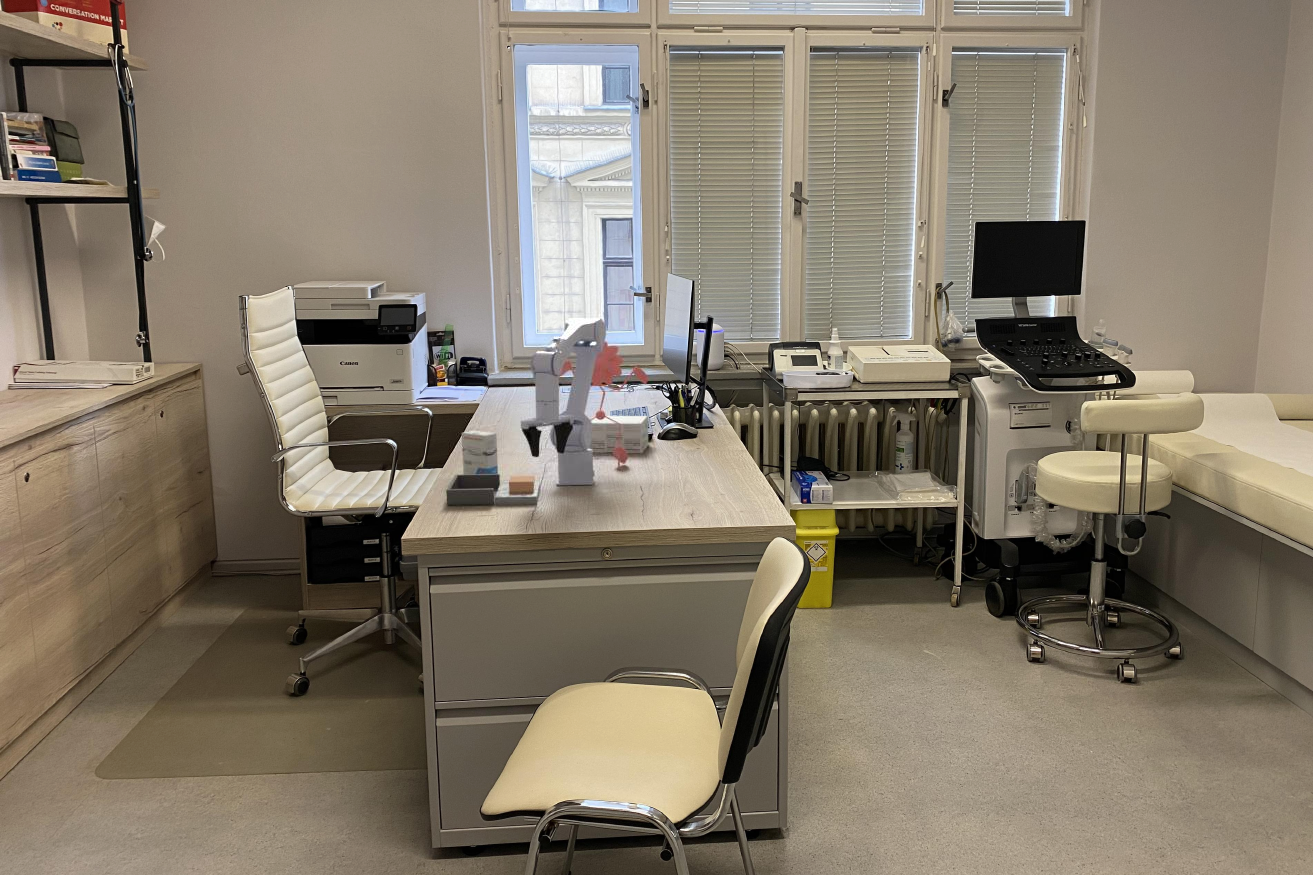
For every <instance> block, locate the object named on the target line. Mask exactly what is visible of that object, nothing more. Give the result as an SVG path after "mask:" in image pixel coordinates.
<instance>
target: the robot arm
mask: <svg viewBox="0 0 1313 875" xmlns="http://www.w3.org/2000/svg"><path fill="white" fill-rule="evenodd" d="M606 329H607V328H606V324H605V322H604V320H603V319H601V318H572V317H570V318H568V319H567V320H566V321H565V324H564V330H563V331H564V332H563V333H562V334H561V336H554V337H553V338H552V340H551V341H550V342H549V343H548V344H547V345H546V346H545V348H544V349H543V350H542V351H536V352H534V353H533V355H532V356H531V361H530V370H531V373H532V380H533V382H534V384H535V386H534V388H535V417H532V418H527V419H523V420H520V428H521V431H522V434H523V435H524V436H525V438H526V441H527V443H528V446H529V449H530V454H531V456H532V457H535V458H540V440H541V435H542V432H543V431H542V430H541V429H539V428H541V427H549V426H551V429H550V433H549V436H550V437H549V439H550V442H551V444H552V446H553V447H554V449H555V450H556V453H557V470H558V471H557V473H558V476H556V477H557V478H556V483H555V484H556V486H587V485H589V486H590V485H591V486H592V485H593V484H594V477H595V469H594V456H593V454H594V452H593V449H586V448H588V447H589V445H590V444H591V441H592V427H593V425H592V422H591V418H589V417H588V416H587V415H586V414H585V413H586V408H587V404H588V400H589V396H590V395H589V394H590V390H591V387H592V386H591V385H592V376H593V371H594V367H595V362H596V357H597V355H599V354H600V353H602V350H603V347H604V342H605V341H606V337H607V331H606ZM572 353H573V354H574V355H576V356H577V358H576V362H575V367H574V375H573V376H572V377H573V378H572V381H571V386H570V389H569V395H568V400H567V404H566V408H565V410H564V411H563V412H561V413H560V392H559V391H560V384H559V383H560V382H559V380H560V379H559V378H560V377H559V374H561V372H562V368H563V365H564V362H565V361H567V359H568V358H569V357H570V356H571V354H572ZM590 386H591V387H590Z"/></svg>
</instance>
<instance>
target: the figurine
mask: <svg viewBox="0 0 1313 875" xmlns="http://www.w3.org/2000/svg"><path fill="white" fill-rule="evenodd" d="M618 351H619V347H618V346H616V345H608V341H606V340H605V342H604V347H603V350H602V353H600V354H599V355H597V357H596V362H595V367H594V371H593V376H592V381H591V386H590V388H591V387H599V388H600V389H601V391H602V392H603V393H602V398H601V402H600V407H599V410H597V411H596V412H595V415H594V416H595V417H594V416H593V417H594V418H593V417H592V418H590V420H591V421H592V420H593V419H595V418H597V419H598V420H602V419H604V418H605V417H606V418H608V419H610V418H609V417H607V416H608V415H606V413H605V412H604V410H602V409H603V404H604V399H605V396H606V391H605V389H604V388H608V389H611V390H614V391H618V392H621V390H622V389H623V388H624V386H625V385H626V384H627V382H628V381H629V380H630V378H631V377H632V376H633V375H634V377H635V378H636V379H637V381H639V382H641V383H642V384H644V385H647V383H648V379H649V377H648V375H647V373H646V372H645V371H644V370H643V369H642V368H640V367H638V366H637V365H636V366H634V367H633V370H632V371H631V372H630V374H629V376H627V378H626V379H625V380H624V382H622V385H621V386H620V387H619V388H616V387H613V386H610V385H611V384H613V381H614V377H620V376H622V373H623V372H622V368H621V367H620V365H622V364H623V362H624V360H623V358H622V357H621V356H619V355H617V353H618ZM570 370H571V373H572V374H573V376H574V371H575V369H574V367H573V365H572V360H571V359H568V360H565V361H564V365H563V368H562V372H561V374H559V378H560V377H562V376H564V375H565V374H566V373H568V371H570ZM603 383H605V384H603ZM603 387H604V388H603ZM610 420H611V421H613V422H615V423H617V424H619V425H620V423H618V422H616V421H614V420H612V419H610ZM620 433H621V425H620V429H619V442H618V447H615V448H614V451H613V453H612V454H613V457H614V459H615V460H616V461H617V468H618V470H621V464H623V465H625V464H626V462H627V460H628V457H629V456H628V453H627V452H626V451H625V450H624V449H623V448H622V447H619V446H620ZM586 449H590V448H586ZM599 458H600V457H598V458H597V457H596V458H594V460H600V459H599Z"/></svg>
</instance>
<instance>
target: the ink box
mask: <svg viewBox="0 0 1313 875" xmlns="http://www.w3.org/2000/svg"><path fill="white" fill-rule="evenodd" d="M497 443H498V441H497V433H496V432H489V431H479V430H469V431H465V432H461V448H462V451H461V452H462V469H463V470H462V474H499V470H498V468H499V466H498V464H499V463H498V446H497Z"/></svg>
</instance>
